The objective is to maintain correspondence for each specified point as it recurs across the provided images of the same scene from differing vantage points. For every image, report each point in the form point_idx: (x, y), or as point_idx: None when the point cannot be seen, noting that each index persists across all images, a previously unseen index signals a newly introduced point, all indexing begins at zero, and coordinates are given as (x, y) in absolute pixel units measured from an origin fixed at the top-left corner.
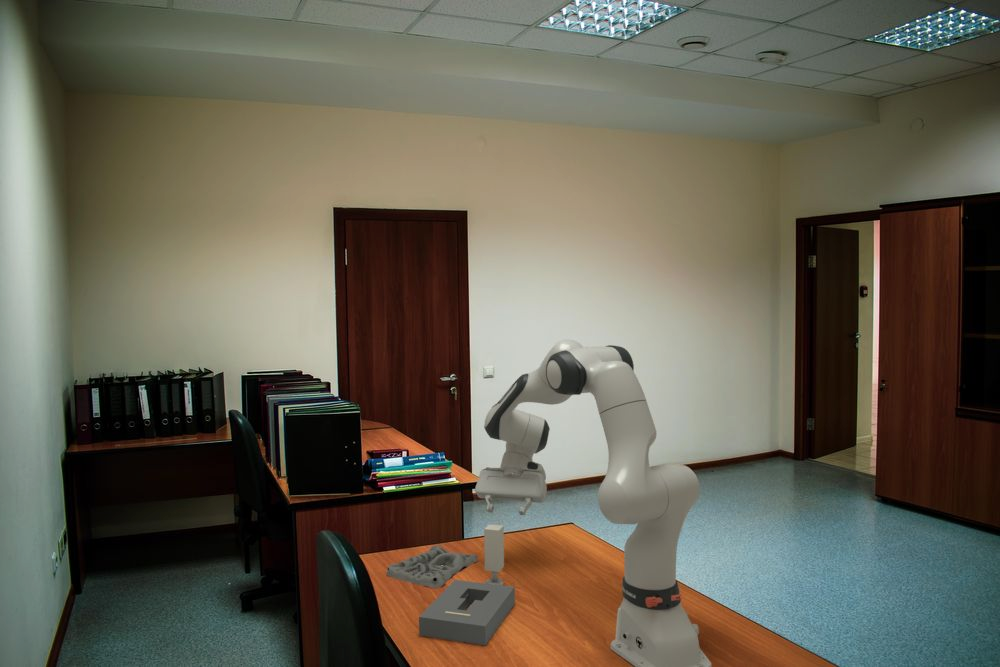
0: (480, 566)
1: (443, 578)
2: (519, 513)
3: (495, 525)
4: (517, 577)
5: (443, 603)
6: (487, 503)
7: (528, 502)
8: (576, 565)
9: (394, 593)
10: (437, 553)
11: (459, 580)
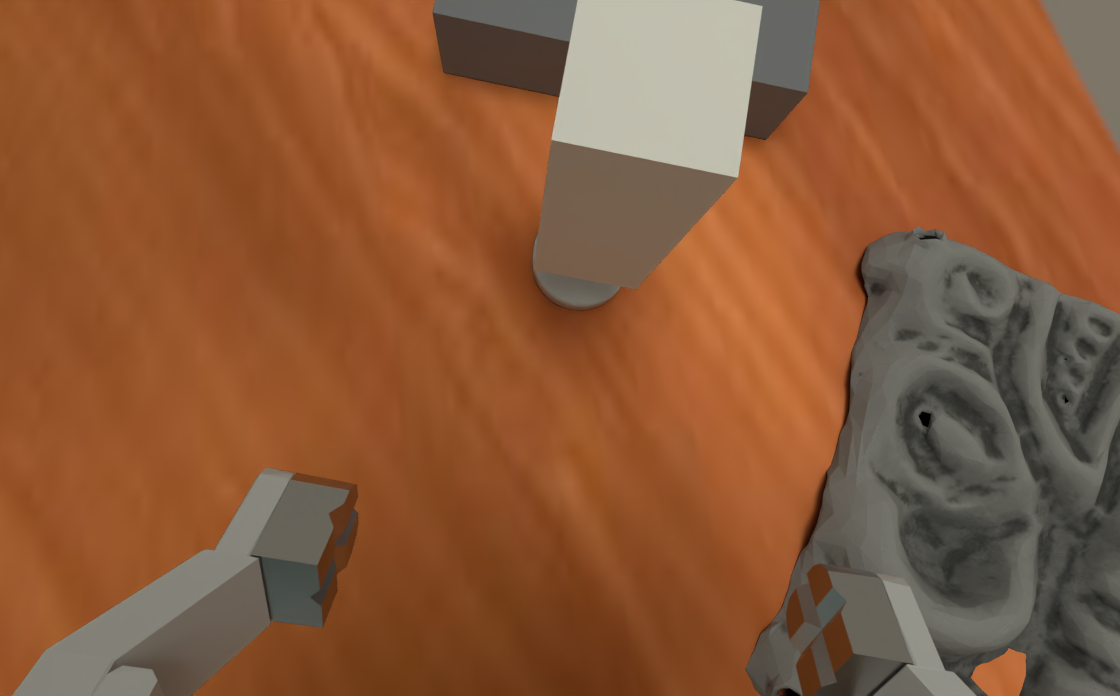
0: (719, 577)
1: (886, 299)
2: (355, 497)
3: (654, 140)
4: (465, 426)
5: None
6: (953, 675)
7: (96, 625)
8: None
9: (1071, 154)
10: None
11: (778, 83)
